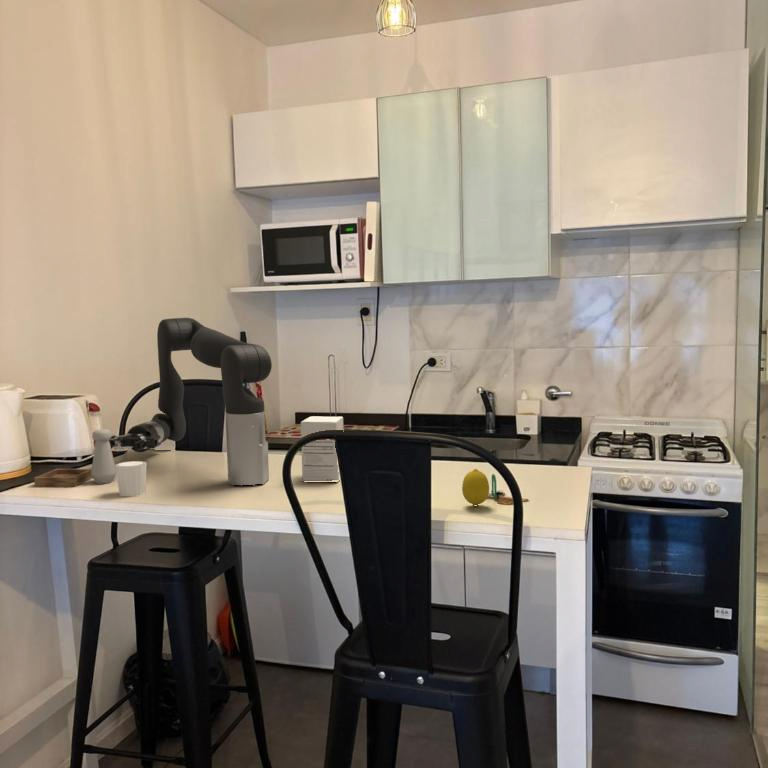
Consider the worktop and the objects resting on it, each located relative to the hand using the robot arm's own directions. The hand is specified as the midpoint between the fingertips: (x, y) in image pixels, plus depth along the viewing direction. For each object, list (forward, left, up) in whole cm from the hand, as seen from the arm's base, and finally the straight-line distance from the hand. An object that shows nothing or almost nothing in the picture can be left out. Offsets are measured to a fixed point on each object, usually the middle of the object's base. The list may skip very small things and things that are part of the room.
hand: (120, 446), depth 188 cm
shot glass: (-12, +21, -7) cm, 25 cm away
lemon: (-90, +31, -7) cm, 95 cm away
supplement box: (-54, +6, -7) cm, 55 cm away
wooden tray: (+10, +10, -7) cm, 16 cm away
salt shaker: (0, +10, -7) cm, 12 cm away
